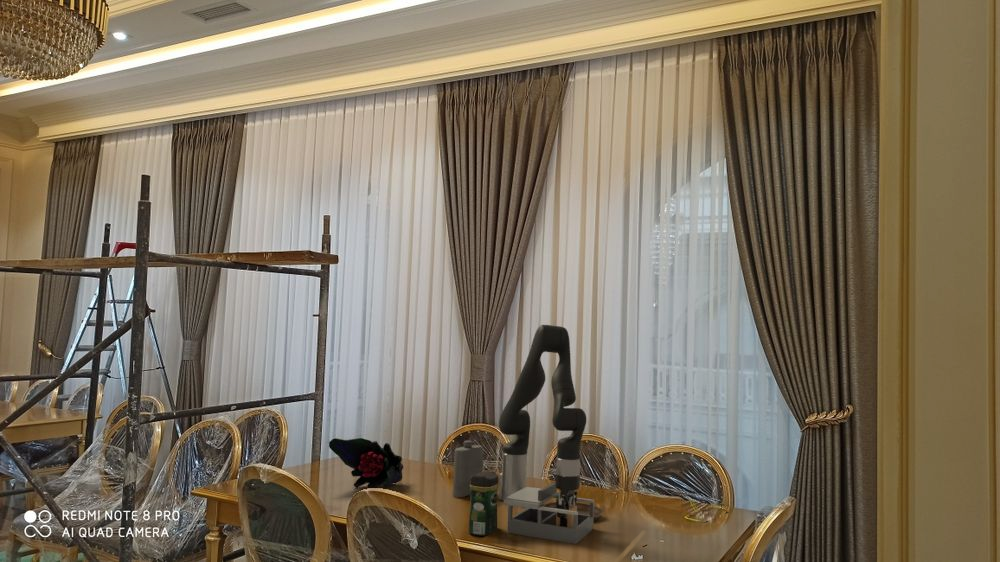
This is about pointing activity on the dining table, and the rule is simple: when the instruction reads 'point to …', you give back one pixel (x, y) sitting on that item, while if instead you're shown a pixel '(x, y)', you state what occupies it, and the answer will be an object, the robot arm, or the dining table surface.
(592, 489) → the dining table surface
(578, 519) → the case
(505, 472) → the robot arm
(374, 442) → the decorative plant
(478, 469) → the flask
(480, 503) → the coffee jar
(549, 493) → the lid
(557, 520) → the module
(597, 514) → the plant saucer
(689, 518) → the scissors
